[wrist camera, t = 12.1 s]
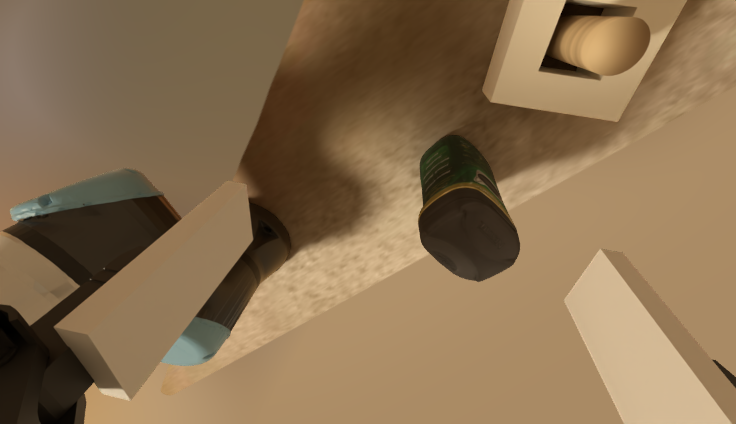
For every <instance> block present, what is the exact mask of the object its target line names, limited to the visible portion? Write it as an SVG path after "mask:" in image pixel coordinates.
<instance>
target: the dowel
mask: <svg viewBox="0 0 736 424" xmlns="http://www.w3.org/2000/svg"><path fill="white" fill-rule="evenodd" d="M650 36H651V35H650V29H649V26H648V25H647V23H646V22H645V21H644V20H642V19H640V18H637V17H619V16H578V15H563V16H560V17H559V19H558V22H557V25H556V27H555V30H554V32H553V35H552V37H551V40H550V42H549V45H548V48H547V50H546V53H545V55H547V56H549V57H551V58H554V59H557V60H560V61H563V62H566V63H569V64H571V65H574V66H577V67H580V68H583V69H586V70H589V71H591V72H594V73H597V74H600V75H604V76H614V75H618V74H621V73H623V72H625V71H627V70H629V69H630V68H632V67H633V66H634V65H635V64H636V63H638V61H639V60H640V59H641V58H642V57H643V55H644V54H645V52H646V50H647V48H648V46H649V43H650Z"/></svg>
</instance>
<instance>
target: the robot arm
mask: <svg viewBox="0 0 736 424" xmlns="http://www.w3.org/2000/svg"><path fill="white" fill-rule="evenodd" d="M10 213H11V215H12V219H13V220H14V221H18V223H17V224H15V225H13V226H11V227H9V228H7V229H5V230H3V231H1V232H0V424H84V417H85V408H86V399H85V394H84V393H85V391H86V390H87V389H88V388H89V387H90V386H91V385H92V383H95V384H96V386H97V387H98V388H99V390H100V391H101V392H102V394H105V395H109V396H113V397H117V398H122V399H126V400H130V401H131V400H132V398H133V397H134V396H135V394H136V393H137V392H138V391H139V389H140V388H141V387H142V385H143V384H144V383H145V381H146V380H147V379H148V377H149V376H150V375H151V373H152V372H153V371H154V370H155V368H156V367H157V366H158V364H159V363H160V362H163V363H167V364H172V365H179V366H193V365H199V364H202V363H204V362H207V361H208V360H210V359H211V358H212V357H213V356H214V355H215V354H216V353H217V351H218V350H219V349H220V347H221V346H222V344H223V343H224V342H225V340H226V339H227V338H228V337H229V336H230V333H231V330H232V329H233V327H234V325H235V324H236V322H237V321H238V319H239V317H240V316H241V314H242V312H243V311H244V309H245V307H246V306H247V304H248V302H249V301H250V299H251V297H252V296H253V294H254V292H255V291H256V289H257V287H258V286H259V284H260V283H261V282H263V281H264V280H265V279H267V278H268V277H269V276H270V275H272V274H273V273H274V272H275V271H277V270H278V269H279V268H280V267H281V266H282V265H283V264H284V262H285V260H286V258H287V257H288V255H289V252H290V238H289V235H288V233H287V231H286V229H285V227H284V226H283V225H282V223H281V222H280V221H279V220H278V219H277V218H276V217H275V216H274V215H273V214H271V213H270V212H268V211H267V210H265V209H263V208H262V207H259V206H257V205H254V204H251V203H249V201H248V193H247V184H243V183H238V182H232V181H226V182H225V183H224V184H223V185H222V186H220V187H219V188H218V189H217V190H216V191H214V192H213V193H212V194H211V195H210V196H209V197H207V198H206V199H205V200H204V201H203V202H201V203H200V204H199V205H198V206H197V207H195V208H194V209H193V210H192V211H191V212H190V213H188V214H187V215H186V216H185V217H184V218H181V216H180V215H179V214H178V213H177V212H176V210H175V209H174V208H173V207H172V206H171V204H170V203H169V202H168V200H167V199H166V198H165V197H164V194H163V192H161V191H159V190H158V189H157V188H156V187H155V186H154V185H153V184H152V183H151V182H150V181H149V180H148V179H147V177H146V176H145V175H144V174H143V173H141V172H140V171H138V170H135V169H131V168H121V169H117V170H114V171H110V172H107V173H104V174H101V175H97V176H95V177H92V178H89V179H86V180H83V181H80V182H78V183H75V184H72V185H69V186H66V187H63V188H61V189H58V190H56V191H52V192H50V193H49V194H45V195H42V196H40V197H37V198H35V199H31V200H28V201H26V202H23V203H21V204H19V205H16V206H14V207H13V208H11V210H10ZM564 302H565V304H566V306H567V308H568V310H569V312H570V314H571V316H572V318H573V320H574V322H575V324H576V326H577V328H578V330H579V332H580V334H581V336H582V339H583V341H584V343H585V345H586V347H587V349H588V351H589V353H590V355H591V357H592V359H593V361H594V363H595V365H596V367H597V369H598V371H599V373H600V375H601V377H602V380H603V382H604V384H605V386H606V388H607V390H608V392H609V394H610V396H611V398H612V400H613V402H614V404H615V406H616V408H617V410H618V412H619V414H620V416H621V418H622V421H623V423H624V424H736V377H735V376H734V375H732V374H731V373H730V372H729V371H728V370H726V369H725V368H724V367H723V366H722V365H721V364H719V363H718V362H717V361H716V360H712V359H711V358H710V357H709V356H708V355H707V353H706V352H705V351H704V350H703V348H702V347H701V346H700V345H699V344H698V342H697V341H696V340H695V339H694V338H693V337H692V335H691V334H690V333H689V332H688V330H687V329H686V328H685V327H684V326H683V325H682V323H681V322H680V321H679V320H678V318H677V317H676V316H675V315H674V314H673V313H672V311H671V310H670V309H669V308H668V307H667V305H666V304H665V303H664V302H663V301H662V299H661V298H660V297H659V296H658V294H657V293H656V292H655V291H654V290H653V288H652V287H651V286H650V285H649V284H648V282H647V281H646V280H645V279H644V278H643V276H642V275H641V274H640V273H639V272H638V270H637V269H636V268H635V267H634V266H633V265H632V263H631V262H630V261H629V260H628V258H627V257H626V256H625V255H624V254H623V253H622V252H617V251H611V250H605V249H600V250H599V251H598V253H597V254H596V255H595V257H594V258H593V260H592V261H591V262H590V264H589V266H588V267H587V268H586V270H585V271H584V272H583V274H582V275H581V277H580V278H579V280H578V281H577V282H576V284H575V285H574V287H573V288H572V290H571V291H570V292H569V294H568V295H567V297H566V298H565V300H564Z"/></svg>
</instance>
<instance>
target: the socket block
mask: <svg viewBox="0 0 736 424" xmlns="http://www.w3.org/2000/svg"><path fill="white" fill-rule="evenodd" d="M686 2H687V0H509V3H508V7H507V10H506V13H505V16H504V20H503V23H502V26H501V29H500V33H499V36H498V39H497V42H496V46H495V49H494V52H493V55H492V59H491V62H490V65H489V69H488V72H487V75H486V78H485V82H484V85H483V88H482V92H483V93H484V94H485V96H486V97H487V98H488V100H489V101H490V102H492V103H499V104H505V105H511V106H518V107H524V108H531V109H537V110H544V111H550V112H557V113H563V114H569V115H576V116H582V117H589V118H595V119H602V120H608V121H614V122H618V120H619V119H620V117H621V115H622V113H623V112H624V110H625V108H626V106H627V105H628V103H629V101H630V99H631V98H632V96H633V94H634V92H635V91H636V89H637V87H638V85H639V84H640V82H641V80H642V78H643V77H644V75H645V73H646V71H647V70H648V68H649V66H650V64H651V63H652V61H653V59H654V57H655V56H656V54H657V52H658V51H659V49H660V47H661V45H662V44H663V42H664V40H665V38H666V37H667V35H668V33H669V31H670V30H671V28H672V26H673V24H674V23H675V21H676V19H677V17H678V16H679V14H680V12H681V10H682V9H683V7H684V5H685V3H686ZM565 3H567V4H574V5H582V6H590V7H597V8H604V10H603V12H602V14H601V16H619V17H637V18H640V19H642V20H644V21H645V22H646V23H647V25H648V26H649V29H650V35H651V36H650V43H649V46H648V48H647V50H646V52H645V54H644V55H643V57H642V58H641V59H640V60H639V61H638V63H636V64H635V65H634V66H633V67H632V68H630V69H629V70H627V71H625V72H623V73H621V74H618V75H614V76H604V75H600V74H597V73H594V72H591V71H589V70H586V69H583V68H580V67H577V69H576V71H570V70H563V69H556V68H549V67H543V66H540V65H541V63H542V60H543V58H544V55H545V53H546V50H547V48H548V45H549V42H550V40H551V37H552V35H553V32H554V30H555V27H556V25H557V22H558V19H559V17H560V14H561V12H562V9H563V7H564V4H565Z"/></svg>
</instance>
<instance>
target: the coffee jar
mask: <svg viewBox="0 0 736 424" xmlns="http://www.w3.org/2000/svg"><path fill="white" fill-rule="evenodd" d="M420 177H421V185H422V197H423V208H422V209H421V211H420V214H419V218H418V226H419V232H420V239H421V243H422V245H423V246H424V248H425V249H426V250H427V251H428V252H429V253H430V254H431V255H432V256H433V257H434V258H435V259H436V260H437V261H438V262H440V263H441V264H442V265H443V266H445V267H446V268H447V269H448V270H449V271H451V272H452V273H453V274H455V275H457V276H459V277H461V278H464V279H468V280H474V281H477V282H480V281H483V280H485V279H487V278H490V277H492V276H494V275H496V274H498V273H500V272H502V271H503V270H505V269H507V268H509V267H510V266H512V265H513V264H514V262H515V260H516V259H517V257H518V254H519V251H520V242H519V237H518V234H517V230H516V228H515V225H514V223H513V221H512V219H511V218H510V216H509V214H508V212H507V210H506V208H505V206H504V203H503V201H502V198H501V196H500V193H499V190H498V188H497V185H496V182H495V179H494V176H493V173H492V171H491V168H490V166H489V164H488V163H487V161H486V160H485V158H484V157H483V156H482V155H481V153H480V152H479V151H478V150H477V149H476V148H475V147H474V146H473V145H472V144H471V143H470V142H468V141H467V140H466V139H464V138H463V137H460V136H456V135H452V136H447V137H445V138H443V139H441V140H439V141H438V142H436V143H435V144H434V145H433V146H432V147H430V148H429V149H428V150H427V151H426V152H425V154H424V155H423V156H422V158H421V161H420Z"/></svg>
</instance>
